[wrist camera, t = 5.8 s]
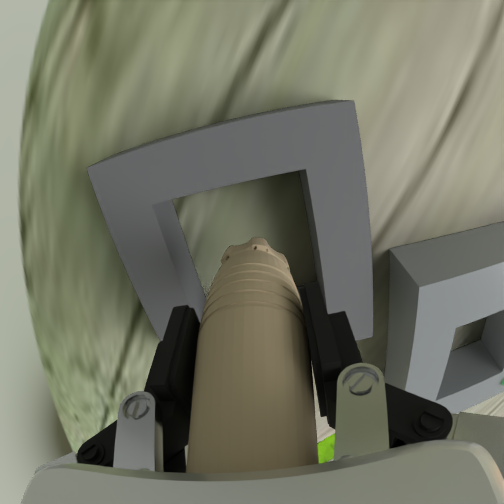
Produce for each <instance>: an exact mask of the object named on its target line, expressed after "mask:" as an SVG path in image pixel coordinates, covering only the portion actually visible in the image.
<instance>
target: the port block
mask: <svg viewBox="0 0 504 504" xmlns="http://www.w3.org/2000/svg"><path fill="white" fill-rule="evenodd" d="M389 254H390V291H389V321H388V339H387V353H386V365H385V375H384V382H385V383H387V384H390V385H392V386H395V387H397V388H400V389H402V390H405V391H407V392H410V393H412V394H415V395H417V396H420V397H422V398H425V399H428V400H430V401H433V402H436V403H438V404H441V405H442V406H444V407H446V408H447V409H448V410H449V411H450V413H453V414H456V413H459V412H461V411H463V410H466V409H468V408H470V407H472V406H474V405H477V404H479V403H481V402H483V401H485V400H487V399H489V398H491V397H493V396H495V395H497V394H499V393H501V392H503V391H504V222H500V223H496V224H492V225H488V226H484V227H480V228H476V229H471V230H467V231H463V232H459V233H455V234H451V235H447V236H442V237H438V238H434V239H430V240H425V241H421V242H417V243H412V244H408V245H404V246H399V247H395V248H390V249H389ZM484 317H487V319H486V322H485V326H484V329H483V333H482V336H481V339H480V340H479V341H476V342H474V343H471V344H469V345H466V346H464V347H461V348H458V349H456V350H453V351H451V347H452V343H453V339H454V334H455V330H456V328H457V327H460V326H463V325H466V324H468V323H471V322H474V321H476V320H479V319H482V318H484Z"/></svg>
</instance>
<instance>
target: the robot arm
mask: <svg viewBox="0 0 504 504" xmlns="http://www.w3.org/2000/svg"><path fill="white" fill-rule="evenodd" d="M304 287H305V288H300V289H299V291H300V297H301V302H302V308H303V313H304V319H305V324H306V330H307V335H308V340H309V346H310V353H311V361H312V366H313V372H314V378H315V384H316V390H317V396H318V402H319V408H320V415H321V417H324V416H327V421H328V424H329V426H330V427H332V428H333V429H335V444H334V458H333V461H331V462H326V463H320V464H314V465H307V466H300V467H293V468H284V469H275V470H264V471H252V472H234V473H186V465H187V453H188V441H189V430H190V420H191V407H192V394H193V382H194V371H195V360H196V349H197V340H198V334H199V329H200V321H199V319H198V316H197V314H196V312H195V310H194V308H190V307H189V306H188V305H182V306H176V307H173V309H172V312H171V315H170V318H169V321H168V325H167V328H166V331H165V334H164V337H163V341H160V342H159V344H158V346H157V349H156V353H155V356H154V359H153V362H152V366H151V369H150V372H149V375H148V379H147V382H146V385H145V389H144V391H138V392H135V393H132V394H130V395H128V396H127V397H126V398H125V399H124V400H123V401H122V403H121V404H120V407H119V411H118V420H116V421H115V422H113V423H112V424H111V425H109V426H108V427H106V428H105V429H103V430H102V431H101V432H99V433H98V434H96V435H95V436H93V437H92V438H90V439H89V440H87V441H86V442H85V443H84V444H82V445H81V447H80V448H79V450H78V453H75V452H72V453H70V454H68V455H65V456H63V457H61V458H58V459H56V460H53V461H51V462H48V463H46V464H43V465H41V466H40V467H38V469H37V470H36V471H35V474H34V476H33V477H32V479H31V481H30V482H29V484H28V486H27V489H26V491H25V493H24V496H23V499H22V501H21V504H504V417H497V416H488V415H480V414H473V413H466V412H460V413H459V414H453V413H450V411H449V410H448V409H447V408H446V407H444V406H442V405H441V404H438V403H436V402H433V401H430V400H428V399H425V398H422V397H420V396H417V395H415V394H412V393H410V392H407V391H405V390H402V389H400V388H397V387H395V386H392V385H390V384H387V383H385V382H384V376H383V373H382V372H381V370H380V369H379V368H377V367H376V366H374V365H372V364H368V363H363V362H362V359H361V356H360V353H359V350H358V347H357V344H356V341H355V338H354V335H353V332H352V329H351V326H350V323H349V320H348V317H347V315H346V312H345V311H341V312H337V313H332V314H328V312H327V309H326V305H325V302H324V298H323V295H322V292H321V288H320V285H319V282H318V281H315V282H310V283H305V284H304Z"/></svg>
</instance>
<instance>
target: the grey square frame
mask: <svg viewBox="0 0 504 504" xmlns="http://www.w3.org/2000/svg"><path fill="white" fill-rule="evenodd" d="M298 170H299V173H300V179H301V184H302V190H303V195H304V201H305V206H306V212H307V218H308V224H309V230H310V236H311V242H312V249H313V255H314V262H315V268H316V275H317V281H318V282H319V285H320V288H321V292H322V295H323V298H324V302H325V305H326V309H327V312H328V314H332V313H337V312H341V311H345V312H346V315H347V317H348V320H349V323H350V326H351V329H352V332H353V335H354V338H355V341H358V340H362V339H366V338H370V337H373V272H372V249H371V233H370V219H369V207H368V196H367V187H366V178H365V169H364V161H363V154H362V147H361V140H360V133H359V127H358V121H357V115H356V109H355V103H354V101H353V100H331V101H324V102H317V103H311V104H305V105H299V106H293V107H287V108H282V109H277V110H272V111H267V112H262V113H257V114H252V115H248V116H243V117H239V118H235V119H231V120H226V121H222V122H218V123H214V124H211V125H207V126H203V127H199V128H196V129H192V130H189V131H185V132H182V133H178V134H175V135H171V136H168V137H165V138H162V139H159V140H155V141H152V142H149V143H146V144H143V145H140V146H137V147H134V148H131V149H128V150H126V151H123V152H120V153H117V154H114V155H112V156H110V157H108V158H106V159H104V160H101V161H99V162H97V163H95V164H94V165H92V166H90V167H88V168H87V171H88V174H89V177H90V180H91V183H92V186H93V189H94V192H95V194H96V197H97V200H98V203H99V205H100V208H101V211H102V213H103V216H104V219H105V221H106V224H107V226H108V229H109V231H110V234H111V236H112V239H113V241H114V244H115V246H116V248H117V251H118V253H119V255H120V258H121V260H122V262H123V265H124V267H125V269H126V271H127V274H128V276H129V278H130V280H131V283H132V285H133V287H134V289H135V291H136V293H137V295H138V298H139V300H140V302H141V304H142V306H143V308H144V310H145V312H146V314H147V316H148V318H149V320H150V322H151V324H152V326H153V328H154V330H155V332H156V334H157V336H158V338H159V340H160V341H163V337H164V334H165V331H166V328H167V325H168V321H169V318H170V315H171V312H172V309H173V307H176V306H182V305H188V306H189V307H190V308H194V310H195V312H196V314H197V316H198V319H199V321H200V324H201V319H202V314H203V310H204V306H205V302H206V297H205V294H204V292H203V289H202V286H201V283H200V281H199V278H198V275H197V272H196V269H195V267H194V264H193V261H192V258H191V255H190V252H189V250H188V247H187V244H186V241H185V238H184V235H183V232H182V229H181V226H180V223H179V220H178V217H177V214H176V211H175V208H174V205H173V202H172V199H175V198H179V197H183V196H187V195H191V194H195V193H199V192H203V191H207V190H211V189H215V188H219V187H223V186H228V185H232V184H236V183H241V182H245V181H250V180H254V179H259V178H264V177H268V176H273V175H278V174H283V173H288V172H293V171H298ZM296 288H297V291H298V294H299V297H300V291H299V289H300V288H305V287H304V286H301V287H296ZM300 300H301V297H300ZM301 303H302V302H301Z"/></svg>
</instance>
